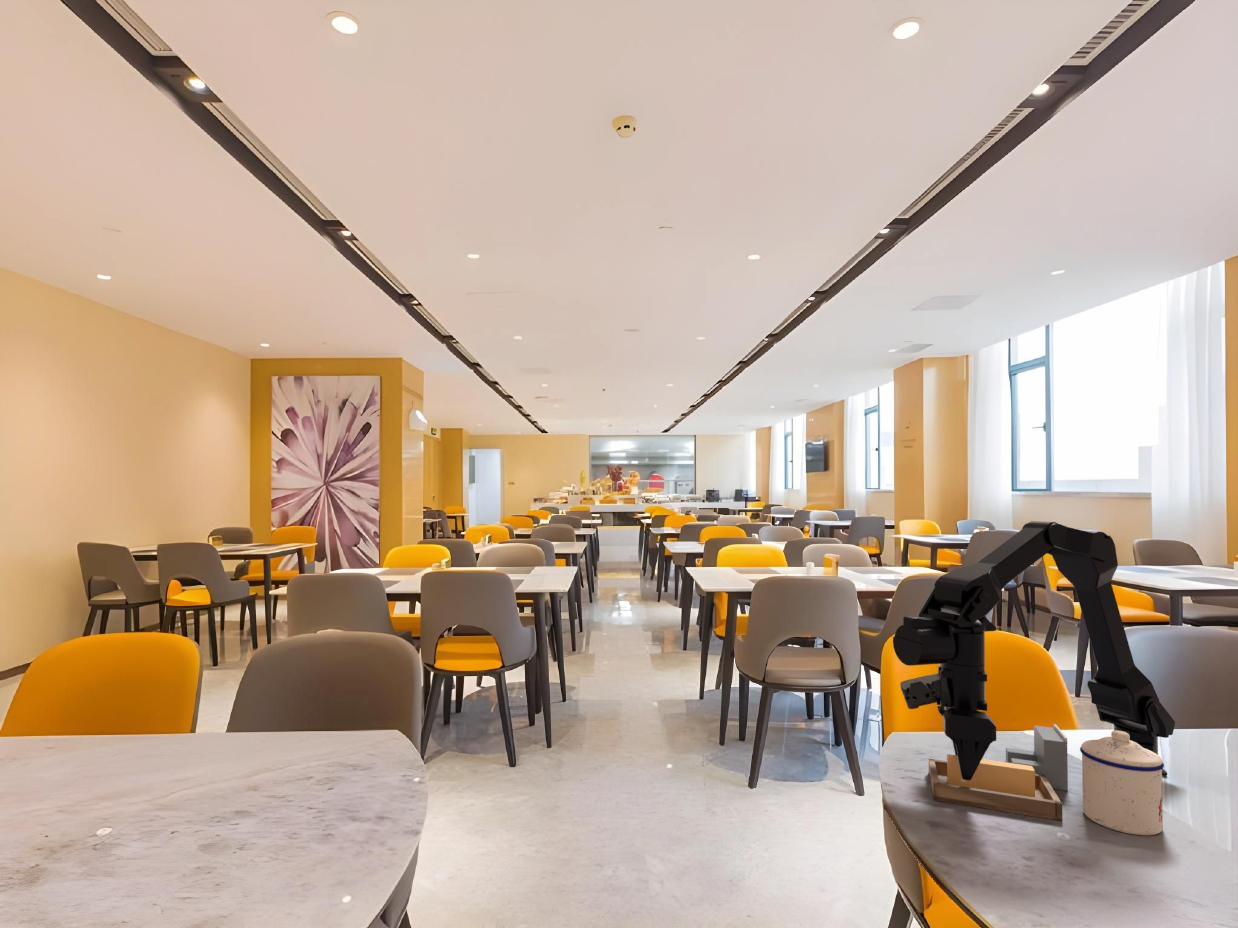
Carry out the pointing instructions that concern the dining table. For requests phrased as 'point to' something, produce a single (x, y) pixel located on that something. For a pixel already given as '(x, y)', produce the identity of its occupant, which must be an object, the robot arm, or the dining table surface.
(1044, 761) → the grey slotted holder
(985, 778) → the tan elongated block
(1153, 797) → the teacup with lid
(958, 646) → the robot arm
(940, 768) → the tray
